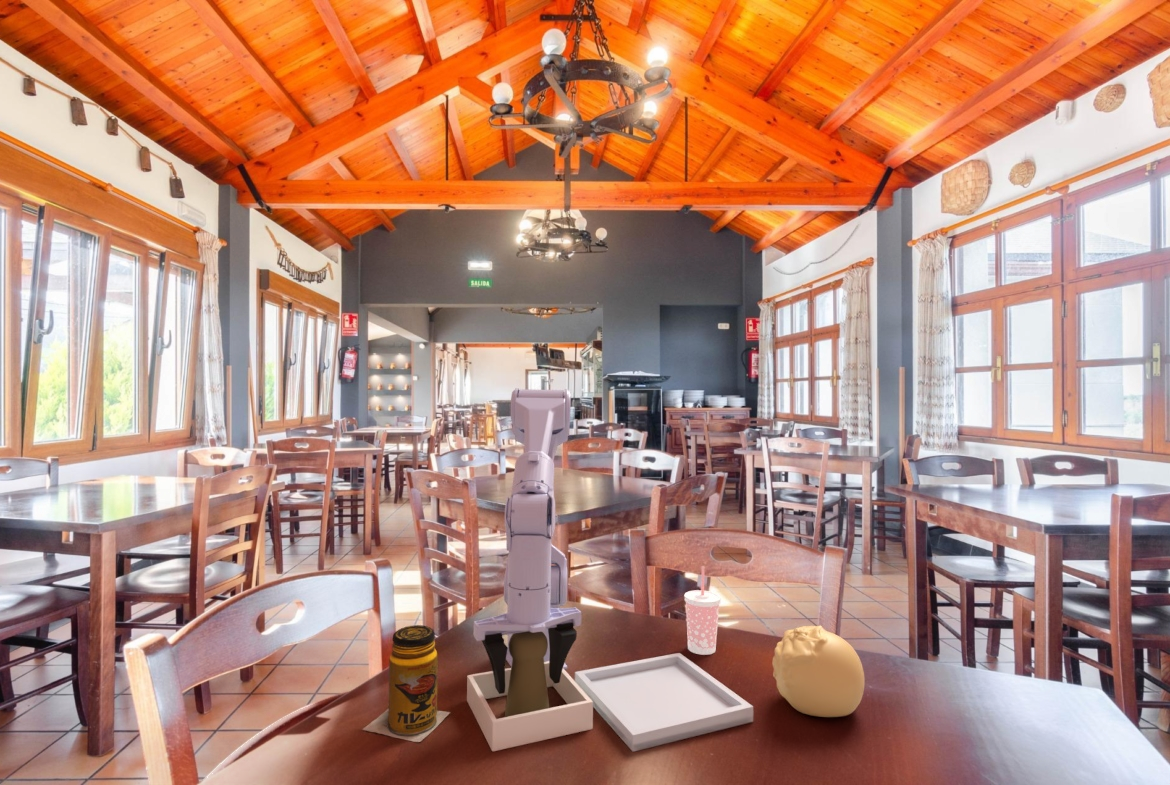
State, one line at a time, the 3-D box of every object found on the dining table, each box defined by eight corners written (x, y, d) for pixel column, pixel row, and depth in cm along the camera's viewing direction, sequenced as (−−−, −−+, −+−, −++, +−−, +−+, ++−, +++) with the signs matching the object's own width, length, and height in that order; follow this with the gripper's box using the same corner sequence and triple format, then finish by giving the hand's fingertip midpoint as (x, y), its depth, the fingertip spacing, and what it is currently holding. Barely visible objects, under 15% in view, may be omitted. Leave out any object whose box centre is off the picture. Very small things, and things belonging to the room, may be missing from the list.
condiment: (420, 743, 76) (421, 645, 76) (361, 731, 78) (363, 636, 78) (450, 714, 83) (452, 624, 83) (395, 703, 85) (397, 616, 85)
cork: (543, 729, 80) (544, 643, 79) (498, 723, 81) (499, 638, 81) (554, 705, 85) (556, 625, 85) (512, 700, 87) (513, 621, 87)
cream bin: (466, 700, 86) (467, 675, 86) (555, 683, 92) (555, 660, 92) (492, 751, 74) (492, 722, 74) (592, 728, 80) (593, 701, 80)
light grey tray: (574, 685, 91) (574, 672, 91) (679, 665, 99) (679, 652, 99) (632, 751, 75) (633, 735, 75) (753, 721, 82) (753, 706, 82)
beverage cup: (712, 659, 101) (714, 573, 101) (677, 650, 104) (678, 567, 104) (725, 647, 106) (726, 565, 106) (691, 638, 109) (692, 559, 109)
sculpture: (773, 680, 94) (775, 609, 94) (860, 695, 90) (861, 620, 90) (769, 718, 83) (770, 637, 83) (867, 736, 79) (869, 651, 79)
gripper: (483, 599, 76) (482, 709, 76) (591, 586, 82) (589, 688, 82) (470, 582, 83) (468, 684, 83) (570, 571, 89) (569, 666, 89)
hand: (527, 684), depth 83 cm, fingers open, 7 cm apart
